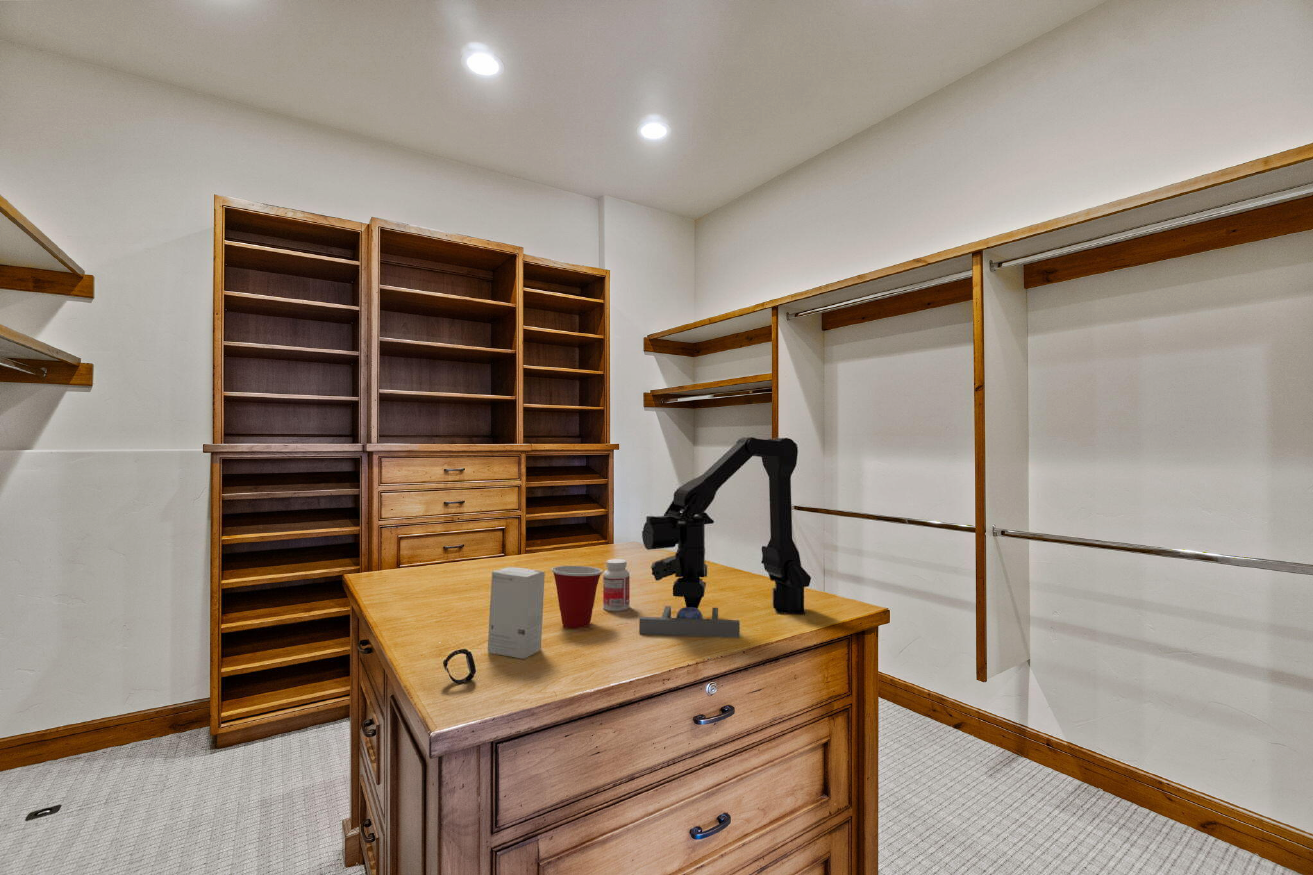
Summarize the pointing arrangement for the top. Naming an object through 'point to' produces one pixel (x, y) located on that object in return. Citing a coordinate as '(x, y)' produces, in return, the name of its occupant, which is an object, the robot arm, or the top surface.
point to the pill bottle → (616, 586)
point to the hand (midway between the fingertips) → (691, 618)
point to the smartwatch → (469, 662)
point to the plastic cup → (576, 593)
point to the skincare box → (516, 612)
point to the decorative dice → (689, 613)
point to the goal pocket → (689, 626)
